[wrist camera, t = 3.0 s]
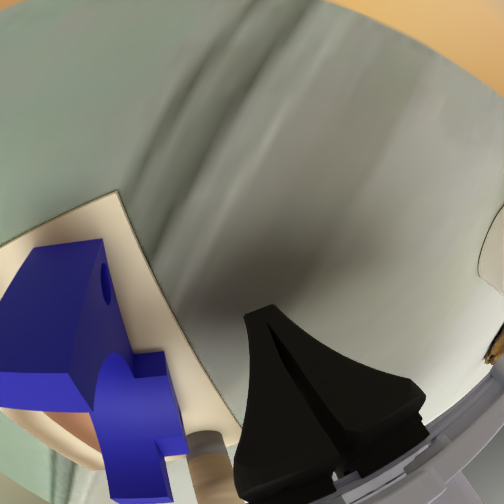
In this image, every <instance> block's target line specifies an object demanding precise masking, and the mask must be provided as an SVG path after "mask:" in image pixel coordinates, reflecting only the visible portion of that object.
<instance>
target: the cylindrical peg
mask: <svg viewBox="0 0 504 504" xmlns="http://www.w3.org/2000/svg"><path fill="white" fill-rule="evenodd" d="M186 438H187V443H188V447H189V451H190V454H186V458H187V463H188V467H189V471H190V475H191V479H192V483H193V487H194V491H195V495H196V498H197V502H198V504H245V503H244V500H243V499H240V498H239V497H238V494H237V491H236V488H235V485H234V478H233V468H232V465H231V462H230V459H229V456H228V453H227V450H226V447H225V443H224V440H223V437H222V434H221V433H220V432H218V431H213V430H203V431H197V432H193V433H190V434H188V435H187V436H186Z"/></svg>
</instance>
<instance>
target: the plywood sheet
mask: <svg viewBox="0 0 504 504" xmlns="http://www.w3.org/2000/svg"><path fill="white" fill-rule="evenodd" d="M101 238H103V242H104V247H105V252H106V257H107V261H108V266H109V270H110V274H111V279H112V283H113V287H114V291H115V294H116V298H117V302H118V305H119V309H120V312H121V316H122V319H123V323H124V326H125V329H126V332H127V335H128V339H129V342H130V345H131V348H132V350H133V353H134V354H141V353H151V352H160V351H164V352H165V356H166V360H167V364H168V368H169V372H170V375H171V379H172V383H173V386H174V390H175V393H176V397H177V400H178V404H179V407H180V410H181V414H182V419H183V424H184V429H185V433H186V436H187V435H188V434H190V433H193V432H197V431H203V430H213V431H218V432H220V433H221V434H222V437H223V440H224V443H225V447H228V446H231V445H235V444H238V443H239V440H240V436H241V432H242V428H241V426H240V425H239V424H238V422H237V421H236V419H235V418H234V416H233V415H232V413H231V412H230V410H229V409H228V407H227V405H226V404H225V402H224V401H223V399H222V398H221V396H220V395H219V393H218V391H217V390H216V388H215V387H214V385H213V383H212V382H211V380H210V378H209V377H208V375H207V373H206V372H205V370H204V368H203V367H202V365H201V363H200V362H199V360H198V358H197V357H196V355H195V353H194V351H193V350H192V348H191V346H190V344H189V342H188V341H187V339H186V337H185V335H184V333H183V332H182V330H181V328H180V326H179V324H178V322H177V321H176V319H175V317H174V315H173V313H172V311H171V309H170V307H169V305H168V303H167V301H166V299H165V297H164V295H163V293H162V291H161V289H160V287H159V285H158V283H157V281H156V279H155V277H154V275H153V273H152V271H151V269H150V266H149V264H148V262H147V260H146V258H145V256H144V253H143V251H142V249H141V247H140V244H139V242H138V240H137V238H136V235H135V233H134V231H133V228H132V226H131V224H130V221H129V219H128V216H127V214H126V211H125V209H124V207H123V204H122V201H121V199H120V196H119V194H118V191H114V192H112V193H109V194H107V195H105V196H102V197H100V198H98V199H95V200H93V201H91V202H88V203H86V204H84V205H82V206H79V207H77V208H75V209H73V210H71V211H68V212H66V213H64V214H62V215H60V216H58V217H56V218H54V219H52V220H50V221H48V222H46V223H44V224H42V225H40V226H38V227H36V228H34V229H32V230H30V231H28V232H26V233H24V234H23V235H21V236H19V237H17V238H15V239H13V240H12V241H10V242H8V243H6V244H4V245H3V246H1V247H0V300H1V298H2V297H3V295H4V293H5V291H6V290H7V288H8V286H9V285H10V283H11V281H12V280H13V278H14V276H15V275H16V273H17V272H18V270H19V268H20V267H21V265H22V264H23V262H24V261H25V259H26V258H27V256H28V255H29V253H30V252H31V250H32V249H33V248H34V247H41V246H48V245H55V244H62V243H70V242H78V241H85V240H93V239H101ZM0 410H1V411H2V412H3V413H4V414H5V415H7V416H8V417H9V418H10V419H12V420H13V421H14V422H15V423H17V424H18V425H19V426H21V427H22V428H23V429H25V430H26V431H27V432H29V433H30V434H31V435H33V436H34V437H36V438H37V439H38V440H40V441H41V442H43V443H44V444H46V445H47V446H49V447H50V448H52V449H54V450H55V451H57V452H58V453H60V454H62V455H63V456H65V457H67V458H68V459H70V460H72V461H73V462H75V463H77V464H79V465H81V466H82V467H84V468H86V469H88V470H90V471H92V470H105V465H104V461H103V457H102V453H101V449H100V446H99V442H98V439H97V435H96V432H95V429H94V426H93V423H92V420H91V417H90V415H89V413H69V412H44V411H31V410H20V409H11V408H3V407H0ZM185 457H186V454H185V455H176V456H167V457H165V462H166V461H171V460H176V459H181V458H185Z"/></svg>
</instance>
